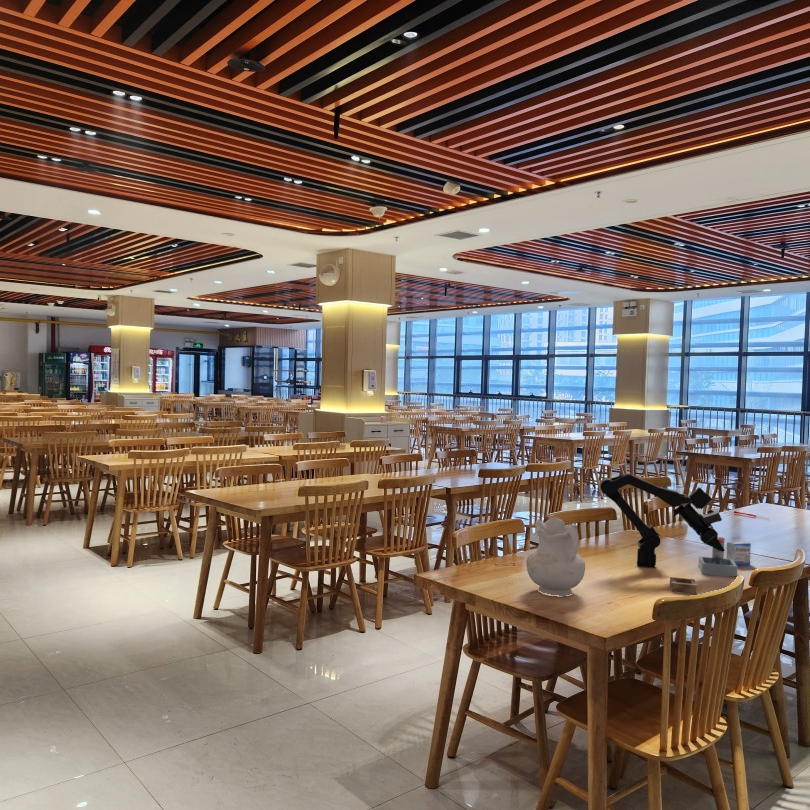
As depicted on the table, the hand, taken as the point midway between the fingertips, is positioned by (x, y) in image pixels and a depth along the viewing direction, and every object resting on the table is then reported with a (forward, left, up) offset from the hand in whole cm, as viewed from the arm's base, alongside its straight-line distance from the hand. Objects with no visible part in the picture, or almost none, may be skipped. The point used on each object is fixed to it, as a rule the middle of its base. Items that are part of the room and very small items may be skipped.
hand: (722, 548), depth 268 cm
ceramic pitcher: (-57, -52, -9) cm, 78 cm away
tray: (-1, 0, -9) cm, 9 cm away
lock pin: (-1, 0, -8) cm, 8 cm away
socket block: (-16, -32, -9) cm, 37 cm away
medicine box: (+9, +17, -9) cm, 21 cm away
